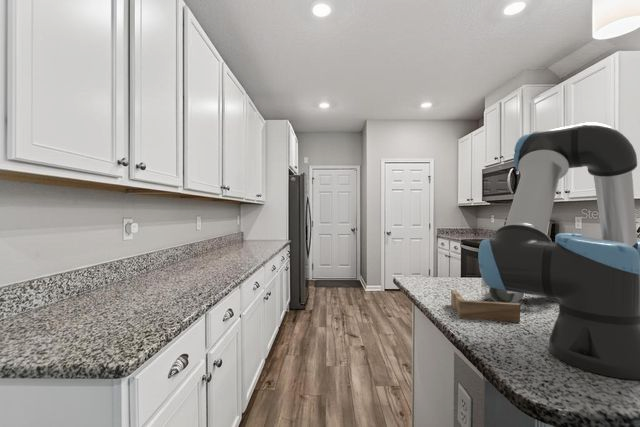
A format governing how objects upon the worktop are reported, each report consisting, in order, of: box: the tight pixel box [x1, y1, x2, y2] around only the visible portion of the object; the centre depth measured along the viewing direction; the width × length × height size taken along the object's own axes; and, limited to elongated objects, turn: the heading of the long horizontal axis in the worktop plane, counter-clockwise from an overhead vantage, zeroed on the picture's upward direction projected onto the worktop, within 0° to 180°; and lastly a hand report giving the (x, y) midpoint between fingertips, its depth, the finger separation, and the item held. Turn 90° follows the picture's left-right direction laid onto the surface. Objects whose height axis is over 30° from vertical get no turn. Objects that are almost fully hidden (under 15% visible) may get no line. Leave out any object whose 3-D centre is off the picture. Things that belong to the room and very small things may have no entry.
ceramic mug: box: [483, 286, 525, 303], centre depth 96 cm, size 11×8×8 cm
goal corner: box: [450, 289, 521, 323], centre depth 88 cm, size 16×15×4 cm
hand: (494, 285), depth 93 cm, fingers closed on ceramic mug, 9 cm apart
